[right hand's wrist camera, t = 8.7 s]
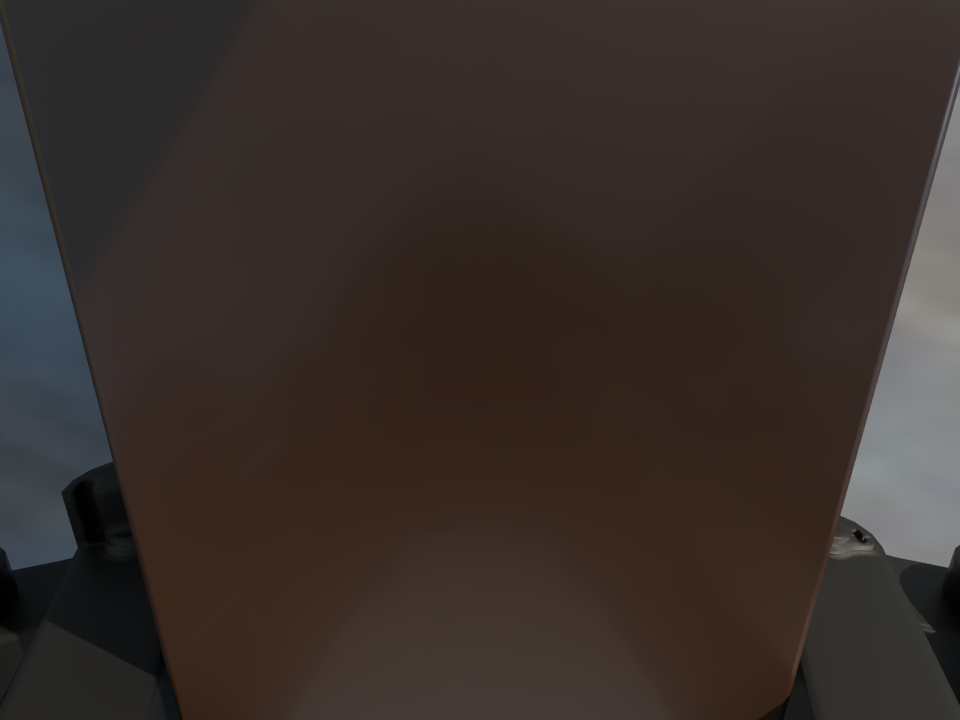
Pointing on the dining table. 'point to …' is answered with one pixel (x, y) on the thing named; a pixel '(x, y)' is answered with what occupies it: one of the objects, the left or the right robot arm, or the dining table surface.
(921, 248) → the dining table surface
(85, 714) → the right robot arm
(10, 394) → the dining table surface
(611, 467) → the walnut box
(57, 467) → the dining table surface
